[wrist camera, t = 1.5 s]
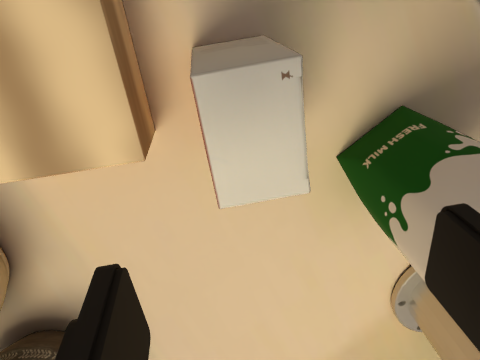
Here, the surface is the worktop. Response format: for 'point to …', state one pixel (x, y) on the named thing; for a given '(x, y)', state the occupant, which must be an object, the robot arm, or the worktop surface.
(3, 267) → the jug
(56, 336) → the planter
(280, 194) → the small box
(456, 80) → the worktop surface
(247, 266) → the worktop surface
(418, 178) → the milk carton
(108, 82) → the beech block
